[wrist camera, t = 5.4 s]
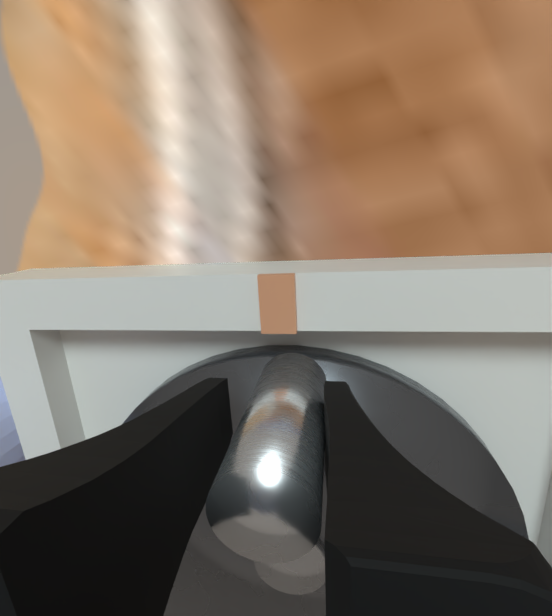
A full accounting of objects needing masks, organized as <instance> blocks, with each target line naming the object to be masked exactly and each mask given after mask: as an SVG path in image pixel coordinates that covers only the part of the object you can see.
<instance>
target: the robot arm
mask: <svg viewBox="0 0 552 616" xmlns="http://www.w3.org/2000/svg"><path fill="white" fill-rule="evenodd" d="M324 428H325V474H326V488H327V508H326V524H325V538H324V543H325V595H326V616H552V567H551V566H550V564H549V563H548V562H547V560H546V559H545V558H544V557H543V555H542V554H541V552H540V551H539V549H538V548H537V546H536V545H535V544H534V543H533V542H532V541H530V540H528V539H527V538H525V537H523V536H521V535H519V534H518V533H516V532H514V531H512V530H511V529H509V528H507V527H505V526H503V525H502V524H500V523H498V522H496V521H494V520H493V519H491V518H489V517H487V516H486V515H484V514H482V513H480V512H479V511H477V510H475V509H474V508H472V507H471V506H469V505H468V504H466V503H465V502H463V501H462V500H460V499H458V498H457V497H455V496H454V495H452V494H451V493H449V492H448V491H447V490H445V489H444V488H442V487H441V486H440V485H438V484H437V483H435V482H434V481H433V480H431V479H430V478H429V477H428V476H426V475H425V474H424V473H423V472H421V471H420V470H419V469H417V468H416V467H415V466H414V465H413V464H411V463H410V462H409V461H408V460H407V459H406V458H404V457H403V456H402V455H401V454H400V453H399V452H398V451H397V450H396V449H395V448H394V447H393V446H392V445H391V444H390V443H389V442H388V440H387V439H386V438H385V437H384V436H383V435H382V434H381V432H380V431H379V430H378V429H377V428H376V427H375V425H374V424H373V423H372V422H371V420H370V419H369V418H368V416H367V415H366V413H365V412H364V411H363V409H362V408H361V406H360V405H359V403H358V402H357V400H356V399H355V397H354V395H353V393H352V391H351V389H350V387H349V385H348V384H347V383H346V382H343V381H325V383H324ZM232 435H233V428H232V418H231V409H230V399H229V389H228V379H227V378H207V379H205V380H203V381H201V382H199V383H197V384H195V385H194V386H192V387H190V388H188V389H187V390H185V391H183V392H182V393H180V394H178V395H176V396H175V397H173V398H171V399H170V400H168V401H166V402H164V403H163V404H161V405H159V406H157V407H155V408H153V409H151V410H150V411H148V412H146V413H144V414H142V415H140V416H138V417H136V418H135V419H133V420H131V421H129V422H126V423H124V424H122V425H120V426H118V427H116V428H113V429H111V430H109V431H106V432H104V433H102V434H100V435H97V436H95V437H92V438H90V439H87V440H84V441H81V442H78V443H76V444H73V445H70V446H67V447H65V448H62V449H59V450H56V451H53V452H50V453H47V454H44V455H41V456H37V457H34V458H31V459H27V460H26V459H25V456H24V453H23V449H22V446H21V443H20V439H19V436H18V433H17V429H16V426H15V423H14V419H13V416H12V413H11V409H10V406H9V403H8V400H7V396H6V393H5V390H4V386H3V383H2V380H1V376H0V616H163V615H164V612H165V609H166V606H167V603H168V600H169V597H170V593H171V590H172V587H173V584H174V581H175V578H176V576H177V573H178V570H179V567H180V564H181V561H182V558H183V555H184V553H185V550H186V547H187V544H188V542H189V539H190V537H191V534H192V532H193V529H194V527H195V525H196V523H197V521H198V518H199V516H200V514H201V512H202V510H203V508H204V505H205V503H206V499H207V496H208V493H209V491H210V489H211V486H212V484H213V482H214V480H215V477H216V475H217V473H218V470H219V468H220V466H221V464H222V461H223V459H224V457H225V455H226V452H227V450H228V448H229V445H230V442H231V438H232Z"/></svg>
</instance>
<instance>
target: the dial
mask: <svg viewBox="0 0 552 616" xmlns="http://www.w3.org/2000/svg"><path fill="white" fill-rule="evenodd" d="M207 378H227V379H228V389H229V399H230V409H231V418H232V428H233V435H232V438H231V442H230V445H229V448H228V450H227V452H226V455H225V457H224V459H223V461H222V464H221V466H220V468H219V470H218V473H217V475H216V477H215V480H214V482H213V484H212V486H211V489H210V491H209V493H208V496H207V499H206V503H205V505H204V508H203V510H202V512H201V514H200V516H199V518H198V521H197V523H196V525H195V527H194V529H193V532H192V534H191V537H190V539H189V542H188V544H187V547H186V550H185V553H184V555H183V558H182V561H181V564H180V567H179V570H178V573H177V576H176V578H175V581H174V584H173V587H172V590H171V593H170V597H169V600H168V603H167V606H166V609H165V612H164V615H163V616H326V595H325V543H324V538H325V524H326V508H327V488H326V474H325V428H324V383H325V381H343V382H346V383H347V384H348V385H349V387H350V389H351V391H352V393H353V395H354V397H355V399H356V400H357V402H358V403H359V405H360V406H361V408H362V409H363V411H364V412H365V413H366V415H367V416H368V418H369V419H370V420H371V422H372V423H373V424H374V425H375V427H376V428H377V429H378V430H379V431H380V432H381V434H382V435H383V436H384V437H385V438H386V439H387V440H388V442H389V443H390V444H391V445H392V446H393V447H394V448H395V449H396V450H397V451H398V452H399V453H400V454H401V455H402V456H403V457H404V458H406V459H407V460H408V461H409V462H410V463H411V464H413V465H414V466H415V467H416V468H417V469H419V470H420V471H421V472H423V473H424V474H425V475H426V476H428V477H429V478H430V479H431V480H433V481H434V482H435V483H437V484H438V485H440V486H441V487H442V488H444V489H445V490H447V491H448V492H449V493H451V494H452V495H454V496H455V497H457V498H458V499H460V500H462V501H463V502H465V503H466V504H468V505H469V506H471V507H472V508H474V509H475V510H477V511H479V512H480V513H482V514H484V515H486V516H487V517H489V518H491V519H493V520H494V521H496V522H498V523H500V524H502V525H503V526H505V527H507V528H509V529H511V530H512V531H514V532H516V533H518V534H519V535H521V536H523V537H525V538H527V539H528V540H529V538H528V533H527V528H526V523H525V519H524V515H523V512H522V510H521V507H520V505H519V502H518V500H517V497H516V495H515V492H514V490H513V488H512V486H511V485H510V483H509V482H508V480H507V478H506V477H505V475H504V473H503V472H502V470H501V468H500V467H499V465H498V464H497V462H496V460H495V459H494V457H493V456H492V454H491V453H490V451H489V449H488V448H487V446H486V445H485V443H484V442H483V440H482V439H481V438H480V437H479V436H478V434H477V433H476V432H475V431H474V430H473V429H472V427H471V426H470V425H469V424H468V423H467V421H466V420H465V419H464V418H463V417H462V416H460V415H459V414H458V413H457V412H456V411H455V410H454V409H453V408H452V407H450V406H449V405H448V404H447V403H446V402H445V401H444V400H443V399H441V398H440V397H438V396H437V395H435V394H434V393H433V392H431V391H430V390H428V389H427V388H425V387H424V386H422V385H421V384H419V383H418V382H416V381H414V380H412V379H411V378H409V377H407V376H405V375H403V374H401V373H399V372H397V371H395V370H393V369H391V368H389V367H387V366H384V365H381V364H379V363H376V362H373V361H371V360H368V359H365V358H362V357H360V356H356V355H352V354H348V353H344V352H339V351H335V350H331V349H326V348H317V347H309V346H300V345H265V346H258V347H250V348H243V349H237V350H233V351H229V352H226V353H222V354H218V355H214V356H211V357H209V358H206V359H204V360H202V361H199V362H197V363H195V364H192V365H190V366H188V367H186V368H184V369H183V370H181V371H180V372H178V373H176V374H175V375H173V376H171V377H170V378H168V379H167V380H166V381H164V382H163V383H162V384H161V385H160V386H158V387H157V388H156V389H155V390H154V391H153V392H151V393H150V394H149V395H148V396H147V397H146V398H145V399H144V400H143V401H142V402H141V403H140V404H139V405H138V406H137V407H136V408H135V409H134V411H133V412H132V413H131V414H130V415H129V416H128V418H127V419H126V420H125V421H124V422H123V423H122V424H124V423H126V422H129V421H131V420H133V419H135V418H136V417H138V416H140V415H142V414H144V413H146V412H148V411H150V410H151V409H153V408H155V407H157V406H159V405H161V404H163V403H164V402H166V401H168V400H170V399H171V398H173V397H175V396H176V395H178V394H180V393H182V392H183V391H185V390H187V389H188V388H190V387H192V386H194V385H195V384H197V383H199V382H201V381H203V380H205V379H207Z"/></svg>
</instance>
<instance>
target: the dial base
mask: <svg viewBox="0 0 552 616" xmlns="http://www.w3.org/2000/svg"><path fill="white" fill-rule="evenodd" d="M265 345H300V346H309V347H317V348H326V349H331V350H335V351H339V352H344V353H348V354H352V355H356V356H360V357H362V358H365V359H368V360H371V361H373V362H376V363H379V364H381V365H384V366H387V367H389V368H391V369H393V370H395V371H397V372H399V373H401V374H403V375H405V376H407V377H409V378H411V379H412V380H414V381H416V382H418V383H419V384H421V385H422V386H424V387H425V388H427V389H428V390H430V391H431V392H433V393H434V394H435V395H437V396H438V397H440V398H441V399H443V400H444V401H445V402H446V403H447V404H448V405H449V406H450V407H452V408H453V409H454V410H455V411H456V412H457V413H458V414H459V415H460V416H462V417H463V418H464V419H465V420H466V421H467V423H468V424H469V425H470V426H471V427H472V429H473V430H474V431H475V432H476V433H477V434H478V436H479V437H480V438H481V439H482V440H483V442H484V443H485V445H486V446H487V448H488V449H489V451H490V453H491V454H492V456H493V457H494V459H495V460H496V462H497V464H498V465H499V467H500V468H501V470H502V472H503V473H504V475H505V477H506V478H507V480H508V482H509V483H510V485H511V486H512V488H513V490H514V492H515V495H516V497H517V500H518V502H519V505H520V507H521V510H522V512H523V515H524V519H525V523H526V528H527V533H528V538H529V540H530V541H532V542H533V543H534V544H535V545H536V546H537V548H538V549H539V551H540V552H541V554H542V555H543V557H544V558H545V559H546V560H547V562H548V563H549V564H550V566H551V567H552V253H530V254H498V255H465V256H432V257H399V258H366V259H333V260H300V261H267V262H234V263H201V264H168V265H135V266H102V267H69V268H37V269H28V270H23V271H18V272H13V273H8V274H3V275H0V376H1V380H2V383H3V386H4V390H5V393H6V396H7V400H8V403H9V406H10V409H11V413H12V416H13V419H14V423H15V426H16V429H17V433H18V436H19V439H20V443H21V446H22V449H23V453H24V456H25V459H26V460H27V459H31V458H34V457H37V456H41V455H44V454H47V453H50V452H53V451H56V450H59V449H62V448H65V447H67V446H70V445H73V444H76V443H78V442H81V441H84V440H87V439H90V438H92V437H95V436H97V435H100V434H102V433H104V432H106V431H109V430H111V429H113V428H116V427H118V426H120V425H122V423H123V422H124V421H125V420H126V419H127V418H128V416H129V415H130V414H131V413H132V412H133V411H134V409H135V408H136V407H137V406H138V405H139V404H140V403H141V402H142V401H143V400H144V399H145V398H146V397H147V396H148V395H149V394H150V393H151V392H153V391H154V390H155V389H156V388H157V387H158V386H160V385H161V384H162V383H163V382H164V381H166V380H167V379H168V378H170V377H171V376H173V375H175V374H176V373H178V372H180V371H181V370H183V369H184V368H186V367H188V366H190V365H192V364H195V363H197V362H199V361H202V360H204V359H206V358H209V357H211V356H214V355H218V354H222V353H226V352H229V351H233V350H237V349H243V348H250V347H258V346H265Z"/></svg>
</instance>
